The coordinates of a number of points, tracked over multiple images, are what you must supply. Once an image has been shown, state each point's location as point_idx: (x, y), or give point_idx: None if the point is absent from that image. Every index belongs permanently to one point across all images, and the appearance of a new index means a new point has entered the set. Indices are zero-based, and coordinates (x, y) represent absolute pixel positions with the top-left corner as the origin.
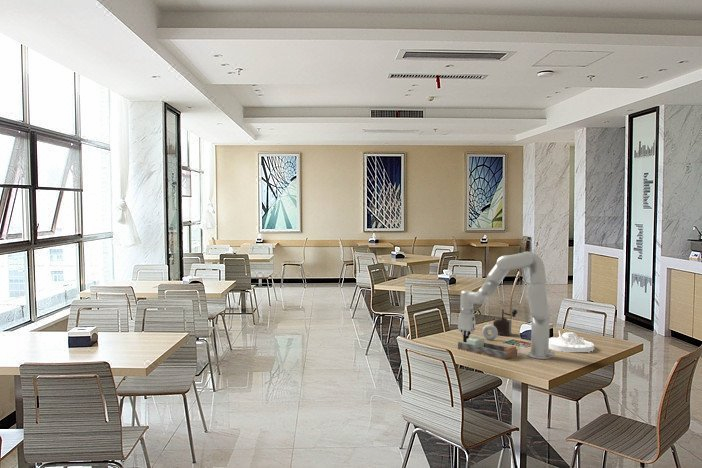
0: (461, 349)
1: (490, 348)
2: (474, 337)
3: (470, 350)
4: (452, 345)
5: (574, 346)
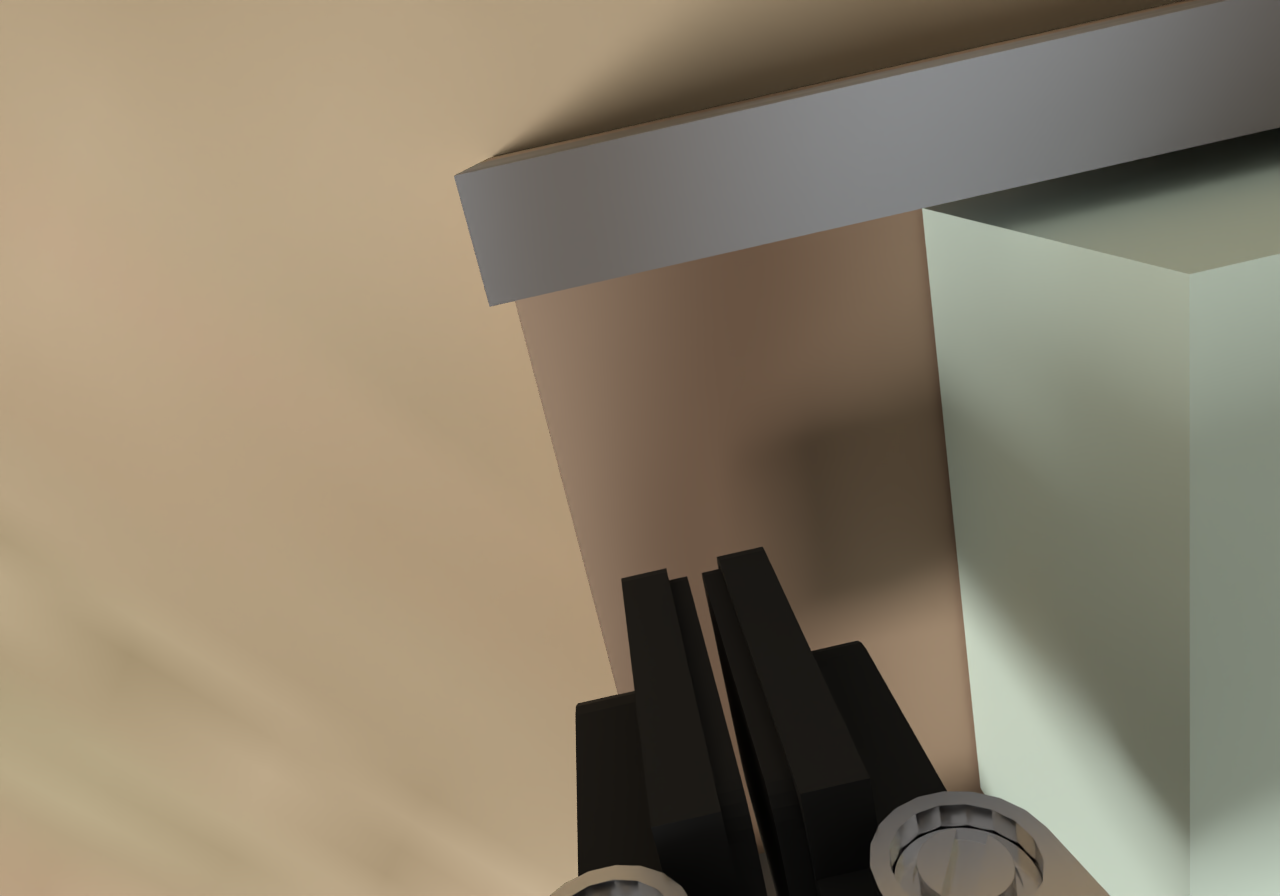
0: None
1: None
2: (1261, 501)
3: None
4: (145, 734)
5: None
